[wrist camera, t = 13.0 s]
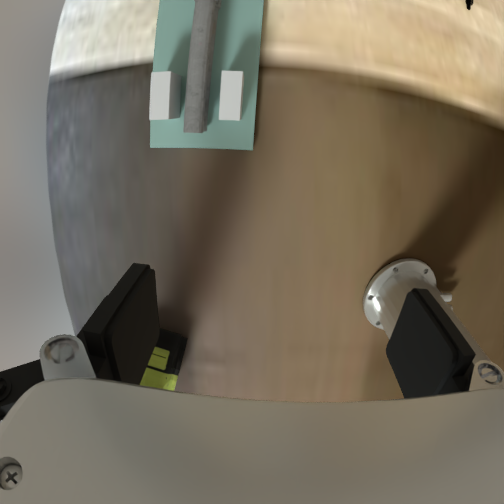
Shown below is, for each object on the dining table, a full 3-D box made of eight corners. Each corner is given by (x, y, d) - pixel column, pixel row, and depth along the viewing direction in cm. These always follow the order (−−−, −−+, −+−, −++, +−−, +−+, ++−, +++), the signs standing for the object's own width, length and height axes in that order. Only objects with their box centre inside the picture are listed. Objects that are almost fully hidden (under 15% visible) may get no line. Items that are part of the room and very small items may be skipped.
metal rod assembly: (211, 130, 33) (204, 134, 29) (187, 130, 33) (177, 133, 29) (232, -59, 22) (229, -78, 18) (209, -58, 22) (204, -77, 18)
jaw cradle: (268, -64, 23) (271, -88, 17) (252, 148, 36) (252, 156, 30) (174, -62, 22) (162, -84, 16) (154, 146, 35) (135, 153, 29)
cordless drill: (156, 268, 43) (85, 415, 20) (204, 283, 44) (167, 442, 21) (138, 372, 52) (100, 489, 29) (174, 383, 53) (148, 504, 30)
